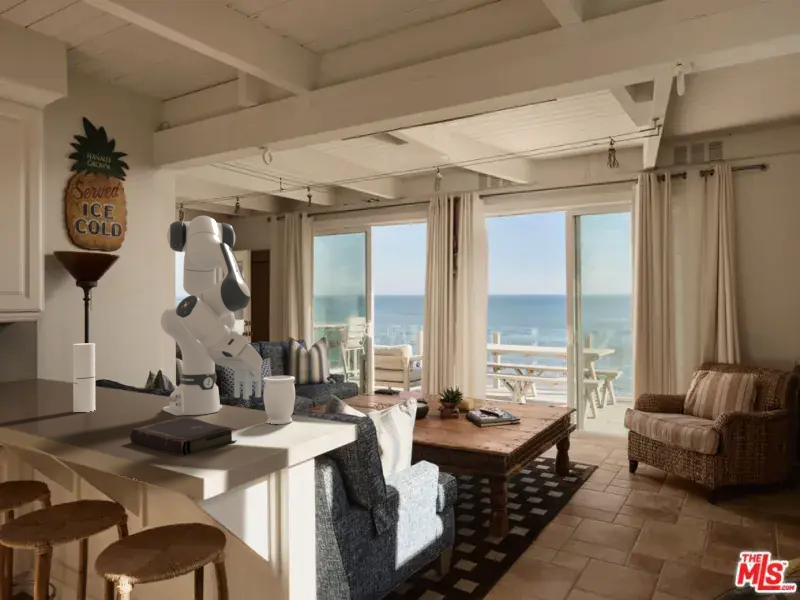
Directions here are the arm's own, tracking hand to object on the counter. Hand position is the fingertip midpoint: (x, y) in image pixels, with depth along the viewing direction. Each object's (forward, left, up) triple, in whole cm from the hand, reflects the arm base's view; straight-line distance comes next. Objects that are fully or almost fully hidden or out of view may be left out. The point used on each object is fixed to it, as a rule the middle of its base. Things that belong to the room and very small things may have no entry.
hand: (249, 373), depth 170 cm
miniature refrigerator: (-82, -13, -19) cm, 85 cm away
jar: (-8, +18, -19) cm, 27 cm away
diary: (-8, -16, -19) cm, 27 cm away
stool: (0, -1, -7) cm, 7 cm away
